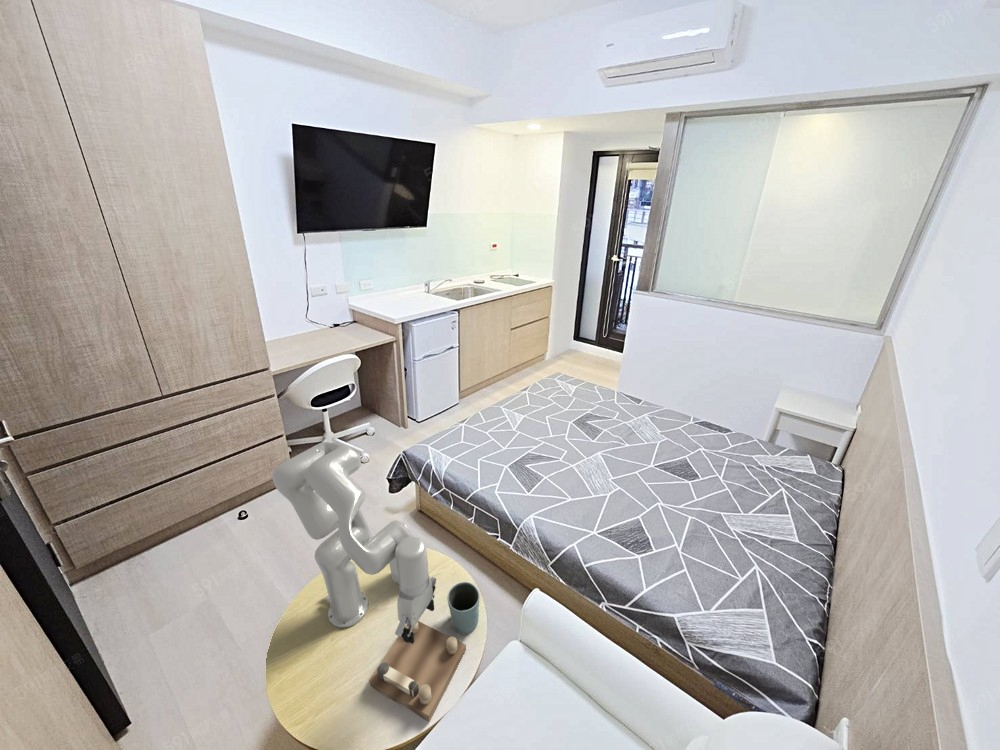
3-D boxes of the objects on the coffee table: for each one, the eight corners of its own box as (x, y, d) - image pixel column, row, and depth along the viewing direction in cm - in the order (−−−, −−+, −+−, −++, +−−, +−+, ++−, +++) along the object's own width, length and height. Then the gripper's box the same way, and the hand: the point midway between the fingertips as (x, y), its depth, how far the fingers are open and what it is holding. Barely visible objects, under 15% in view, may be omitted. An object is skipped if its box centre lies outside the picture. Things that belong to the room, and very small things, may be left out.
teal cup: (475, 639, 126) (474, 614, 121) (444, 632, 128) (442, 607, 123) (483, 609, 135) (482, 584, 130) (454, 603, 137) (452, 579, 132)
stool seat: (370, 686, 114) (367, 672, 111) (412, 623, 131) (410, 610, 128) (429, 722, 107) (427, 708, 104) (466, 650, 123) (465, 637, 120)
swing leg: (375, 677, 113) (374, 671, 112) (383, 666, 116) (382, 660, 115) (414, 699, 108) (413, 694, 107) (421, 687, 111) (420, 682, 110)
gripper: (420, 550, 111) (425, 592, 118) (380, 604, 96) (388, 648, 104) (444, 559, 108) (447, 602, 115) (406, 616, 94) (412, 660, 101)
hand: (419, 623), depth 110 cm, fingers open, 9 cm apart
